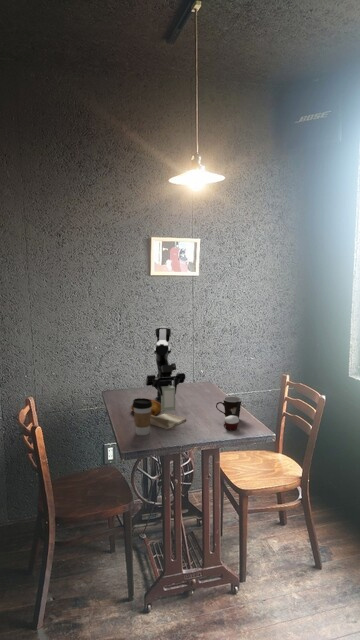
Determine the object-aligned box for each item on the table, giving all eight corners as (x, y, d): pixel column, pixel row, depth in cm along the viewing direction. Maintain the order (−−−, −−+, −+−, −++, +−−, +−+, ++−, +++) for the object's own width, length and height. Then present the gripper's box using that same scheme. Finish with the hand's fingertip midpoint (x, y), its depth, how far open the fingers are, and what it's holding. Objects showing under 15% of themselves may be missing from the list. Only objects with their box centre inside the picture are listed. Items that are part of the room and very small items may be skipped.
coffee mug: (242, 417, 206) (243, 397, 205) (239, 423, 198) (239, 402, 197) (219, 414, 210) (219, 395, 208) (215, 420, 202) (215, 400, 200)
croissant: (141, 423, 204) (141, 408, 202) (127, 410, 216) (127, 396, 214) (166, 417, 212) (167, 402, 210) (151, 404, 224) (152, 390, 222)
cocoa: (224, 433, 187) (224, 407, 185) (220, 427, 193) (219, 402, 191) (244, 430, 189) (244, 404, 187) (240, 424, 195) (239, 400, 193)
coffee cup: (133, 429, 190) (132, 397, 188) (152, 429, 191) (151, 396, 189) (132, 437, 182) (132, 403, 180) (152, 436, 183) (152, 402, 181)
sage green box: (161, 408, 201) (160, 386, 200) (173, 407, 203) (173, 385, 201) (162, 411, 198) (162, 388, 196) (175, 410, 199) (175, 387, 198)
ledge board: (165, 414, 210) (165, 407, 209) (186, 420, 201) (186, 412, 201) (146, 422, 199) (146, 414, 198) (167, 429, 191) (167, 420, 190)
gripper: (146, 358, 199) (151, 387, 189) (184, 356, 204) (191, 384, 194) (143, 371, 207) (148, 399, 198) (180, 368, 212) (186, 396, 203)
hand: (168, 394), depth 198 cm, fingers closed on sage green box, 6 cm apart
